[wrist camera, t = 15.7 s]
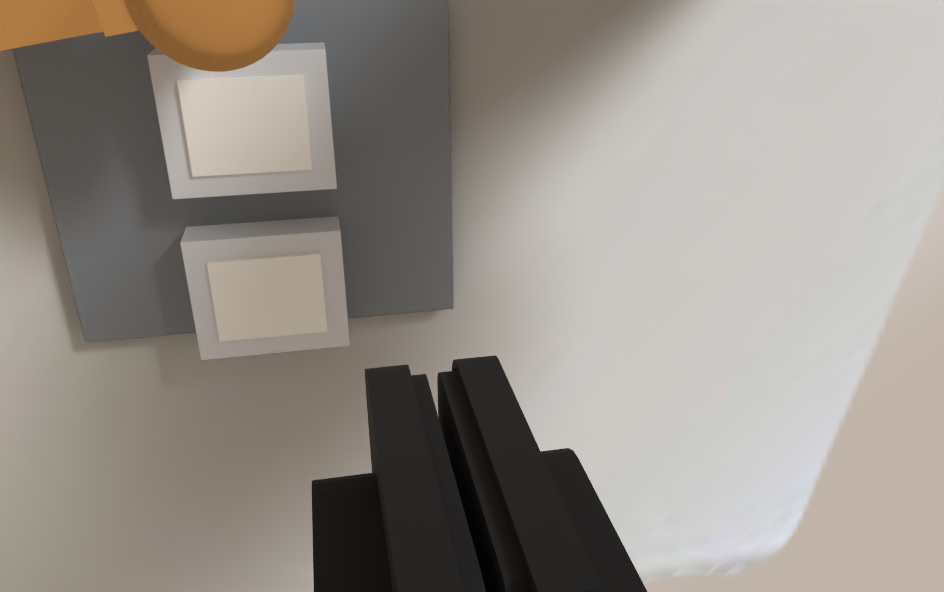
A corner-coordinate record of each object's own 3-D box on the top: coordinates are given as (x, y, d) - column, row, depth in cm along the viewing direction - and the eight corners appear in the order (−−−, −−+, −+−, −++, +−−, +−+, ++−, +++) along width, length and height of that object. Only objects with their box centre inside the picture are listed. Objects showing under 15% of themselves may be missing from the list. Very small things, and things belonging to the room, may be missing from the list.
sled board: (442, -73, 34) (483, -71, 27) (450, 308, 42) (482, 392, 35) (-7, -70, 31) (-106, -67, 24) (92, 341, 39) (43, 442, 32)
